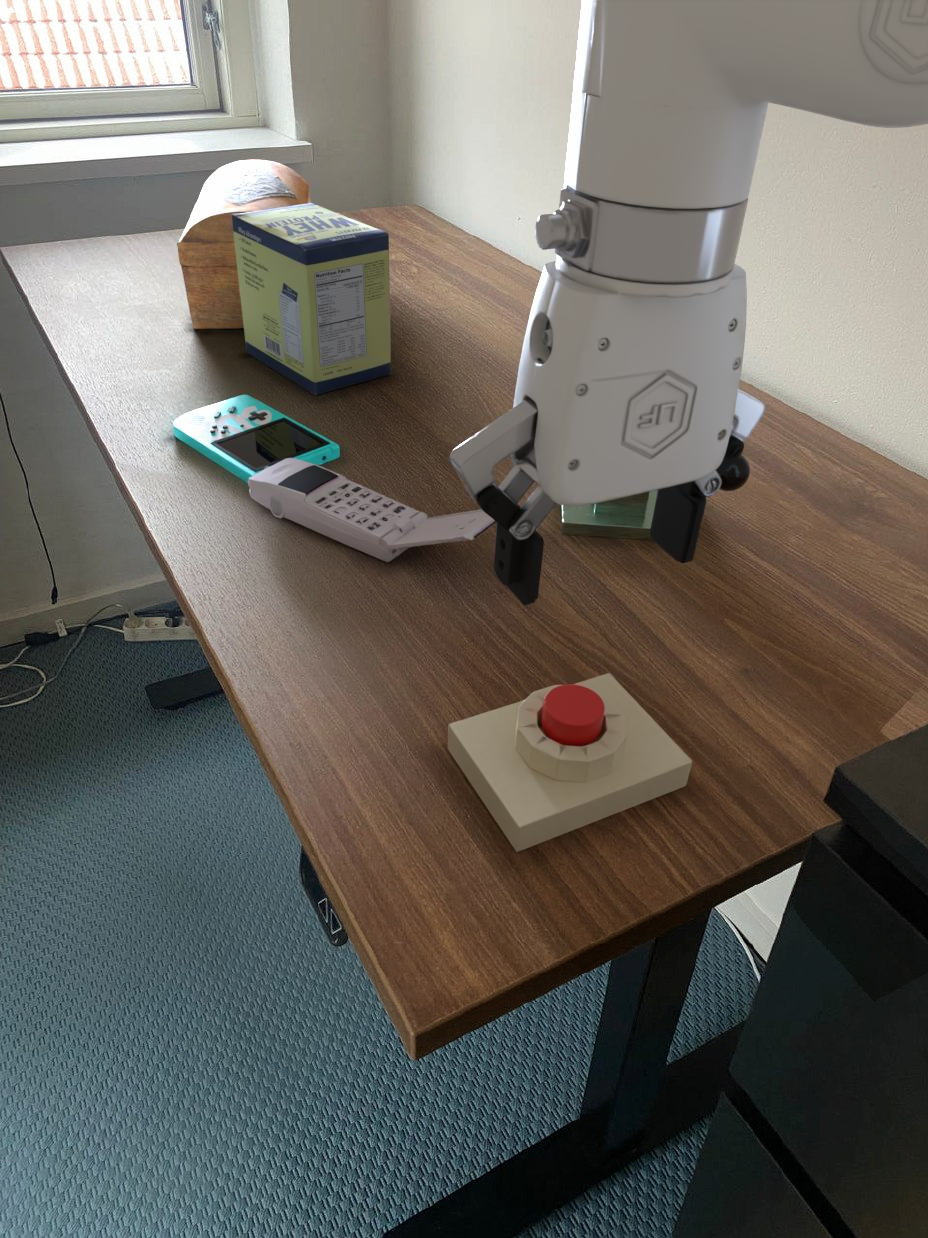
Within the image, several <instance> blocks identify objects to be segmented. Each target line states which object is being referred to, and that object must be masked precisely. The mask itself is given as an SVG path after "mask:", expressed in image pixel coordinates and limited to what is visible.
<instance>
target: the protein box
mask: <svg viewBox="0 0 928 1238" xmlns="http://www.w3.org/2000/svg"><path fill="white" fill-rule="evenodd" d="M231 216H232V223H233V233H234V242H235V252H236V261H237V270H238V279H239V288H240V297H241V306H242V316H243V325H244V328H243V331H244V333H243V334H244V341H245V351H246V353H247V354H248V355H250V356H251V357H253V358H255V359H256V360H258V361H259V362H261V363H263V364H264V365H266V366H267V367H269V368H270V369H272V370H274V371H275V372H277V373H278V374H279V375H282V376H284V377H285V378H286V379H288V380H289V381H291V382H293V383H294V384H295V385H298V386H299V387H301V388H302V389H304V390H306V391H307V392H309V393H310V394H312V395H314V396H317V395H321V394H325V393H329V392H332V391H336V390H339V389H342V388H346V387H350V386H353V385H357V384H360V383H364V382H368V381H371V380H375V379H378V378H382V377H385V376H389V375H392V355H391V351H392V350H391V345H392V343H391V290H390V289H391V287H390V283H391V281H390V237H389V235H390V234H389V232H386V231H384V230H382V229H379V228H376V227H374V226H371V225H369V224H366V223H364V222H361V221H358V220H356V219H354V218H353V219H352V218H350V217H347V216H345V215H343V214H340V213H338V212H334V211H332V210H330V209H328V208H325V207H323V206H320V205H318V204H315V203H313V202H311V203H308V204H301V205H294V206H288V207H281V208H274V209H267V210H260V211H254V212H246V213H239V214H232V215H231Z"/></svg>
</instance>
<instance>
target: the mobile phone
mask: <svg viewBox="0 0 928 1238" xmlns="http://www.w3.org/2000/svg"><path fill="white" fill-rule="evenodd" d="M247 486H248V488H249V489H248V493H249V497H250V498H251V499H253V500H254V501H255V502H256V503H258V504H260V505H261V506H263V507H265V508H266V509H268V510H270V512H271V514H272V516H274V517H275V518H277V519H283V518H285V519H287V520H289V521H292V522H294V523H296V524H298V525H300V526H303V527H305V528H307V529H309V530H312V531H314V532H316V533H318V534H320V535H323V536H325V537H327V538H329V539H332V540H334V541H335V542H339V543H341V544H343V545H345V546H348V547H350V548H353V549H355V550H357V551H359V552H361V553H364V554H367V555H369V556H371V557H373V558H376V559H378V560H381V561H383V562H385V563H390V562H391V561H392V560H394V559H395V558H397V557H398V556H400V555H401V554H402V553H404V552H405V551H406V550H408V549H410V548H412V547H413V548H414V547H420V546H428V545H438V544H446V543H447V544H448V543H455V542H456V543H457V542H466V541H473V540H475V539H476V538H477V537H479V536H480V535H481V534H483V533H484V532H485V531H487V530H489V528H491V527H493V525H495V524H497V522H496V521H495V520H494V519H492V518H491V517H490V516H489V515H487V514H486V513H485V512H484V511H483V510H482V509H481V508H480V509H474V510H469V511H462V512H455V513H450V514H443V515H438V516H437V515H436V516H430V517H428V515H427V513H425V512H424V511H419V510H417V509H415V508H412V507H411V506H408V505H406V504H404V503H402V502H399V501H397V500H395V499H393V498H390V497H388V496H386V495H383V494H381V493H379V492H377V491H375V490H372V489H370V488H368V487H366V486H364V485H362V484H359V483H356V482H354V481H352V480H350V479H347V478H346V477H345V475H342V474H340V473H337V472H336V471H333V470H331V469H328V468H325V467H324V466H321V465H315V464H312V463H309V462H306V461H302V460H299V459H295V458H287V459H284V460H282V461H280V462H278V463H276V464H274V465H272V466H271V467H269V466H266V467H264V469H263V471H261V472H259V473H257V474H255V475H253V476H251V477H250V478H249V481H248V483H247Z"/></svg>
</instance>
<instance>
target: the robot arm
mask: <svg viewBox="0 0 928 1238" xmlns="http://www.w3.org/2000/svg"><path fill="white" fill-rule="evenodd" d="M580 8H581V9H580V18H579V19H580V20H579V28H578V40H577V49H576V60H575V70H574V78H573V90H572V91H573V92H572V102H571V112H570V121H569V131H568V139H567V140H568V142H567V151H566V159H565V170H564V182H563V188H562V187H561V188H560V195H559V207H558V209H556V210H555V211H554V212H553V213H546V214H545V213H544V214H540V215H539V216H538V217H537V219H536V222H535V228H534V234H535V239H536V243H537V246H538V247H539V249H541V250H542V251H546V250H554V253H555V254H556V260H555V261H551V262H550V261H549V262H546V263H545V264H544V266H543V269H542V273H541V276H540V279H539V282H538V285H537V288H536V290H535V295H534V298H533V302H532V304H531V309H530V313H529V318H528V322H527V326H526V329H525V334H524V339H523V344H522V349H521V355H520V359H519V365H518V370H517V371H518V372H517V377H516V384H515V390H514V398H513V407H512V408H511V409H510V410H508V411H507V412H506V413H504V414H502V415H501V416H499V417H498V418H496V419H495V420H493V421H492V422H491V423H489V424H487V425H486V426H485V427H483V428H482V429H481V430H479V431H478V432H476V433H475V434H474V435H472V436H471V437H468V438H467V439H466V440H465V441H463V442H462V443H460V444H459V445H458V446H456V447H455V448H454V449H453V450H452V451H451V453H450V456H449V461H450V463H451V466H452V467H453V469H454V470H455V473H456V475H458V478H459V480H460V481H461V483H462V485H463V486H464V488H465V492H466V495H468V497H469V498H470V499H471V500H472V501H473V502H474V503H475V504H476V505H477V506H478V507H479V508H480V510H481V509H482V510H483V511H484V512H485V513H486V514H487V515H489V516H490V517H491V518H492V519H494V520H495V521H496V528H495V541H494V555H493V570H494V573H495V576H496V578H497V579H498V581H499V582H500V583H501V584H502V585H503V586H505V587H507V588H508V589H509V591H510V592H511V593H512V594H513V596H515V597H516V599H518V601H519V602H520V603H521V604H522V605H523V606H527V605H528V606H529V605H532V604H535V603H536V601H537V600H538V599H539V593H540V592H539V591H540V584H541V575H542V565H543V556H544V547H545V540H544V537H543V536H542V535H541V534H540V533H539V532H538V531H537V529H538V528H539V526H540V525H541V524H542V523H543V522H544V521H545V519H546V518H547V517H548V515H549V514H550V513H551V512H552V511H553V509H554V508H555V507H556V506H557V505H559V506H561V505H563V506H568V507H577V506H585V505H590V504H595V503H600V502H605V501H609V500H614V499H618V498H623V497H628V496H632V495H637V494H641V493H645V492H650V491H654V490H658V492H657V497H656V502H655V508H654V513H653V518H652V523H651V528H650V538H651V539H652V540H651V541H652V542H654V543H655V544H656V545H657V546H658V547H660V548H661V549H662V550H663V551H664V552H666V553H667V554H668V555H669V556H670V557H671V558H673V560H675V561H676V562H678V563H680V564H682V565H683V564H686V563H691V562H692V561H694V557H695V554H696V553H695V552H696V548H697V544H698V538H699V534H700V530H701V528H702V527H701V525H702V522H703V518H704V513H705V509H706V506H707V505H706V504H707V498H708V497H712V496H715V494H717V493H718V492H719V490H720V487H721V484H722V480H721V478H720V477H721V475H722V474H723V473H724V472H725V471H726V470H727V469H728V468H729V467H730V466H731V465H732V464H733V463H734V462H735V461H736V460H737V459H738V457H739V456H740V455H743V452H744V449H745V443H744V441H745V440H748V439H749V437H750V435H751V434H752V432H753V431H754V429H755V428H756V426H757V425H758V423H759V421H760V420H761V418H762V417H763V416H764V413H765V411H766V404H765V403H764V402H763V401H761V400H759V399H758V398H756V397H755V396H753V395H751V394H749V393H747V392H746V391H744V390H742V389H740V388H739V387H740V382H741V376H742V369H743V361H744V354H745V353H744V352H745V346H746V345H745V344H746V331H747V310H748V309H747V307H748V296H747V294H748V291H747V290H748V289H747V288H748V287H747V273H746V270H745V269H744V268H743V267H741V266H740V265H738V264H736V258H737V253H738V249H739V245H740V241H741V236H742V231H743V226H744V223H745V217H746V212H747V207H748V203H749V195H750V191H751V186H752V181H753V176H754V171H755V167H756V163H757V158H758V153H759V149H760V144H761V139H762V136H763V132H764V131H763V130H764V125H765V120H766V116H767V112H768V107H769V104H774V105H778V106H783V107H788V108H791V109H796V110H800V111H804V112H808V113H813V114H817V115H820V116H825V117H828V118H832V119H836V120H839V121H843V122H849V123H853V124H858V125H862V126H867V127H873V128H884V129H901V128H912V127H920V126H924V125H928V0H581V7H580ZM509 457H511V460H512V463H513V464H514V466H513V468H511V470H510V471H509V473H508V474H507V475H506V476H505V478H504V479H503V480H502V481H501V483H500V484H499V485H498V484H497V482H496V479H495V477H494V470H495V469H496V467H497V466H498V465H499V464H500V463H501V462H503V461H504V460H506V459H508V458H509ZM534 483H535V484H536V485H537V486H536V488H535V489H534V490H533V491H532V493H531V494H530V495H529V496H528V497H527V499H526V500H525V501H524V503H523V504H522V505H520V504H519V502H520V501H521V500H522V498H524V496H525V495H526V493H527V492H528V491H529V490H530V488H531V487H532V486H533V485H534Z"/></svg>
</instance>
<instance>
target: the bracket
mask: <svg viewBox="0 0 928 1238" xmlns="http://www.w3.org/2000/svg"><path fill="white" fill-rule="evenodd" d="M657 492H658V490H654V491H650V492H645V493H641V494H637V495H632V496H628V497H623V498H618V499H614V500H609V501H605V502H600V503H595V504H590V505H585V506H577V507H568V506H563V505H560V533H561V535H571V536H585V537H598V538H599V537H600V538H611V539H612V538H613V539H626V540H641V541H653V540H652V539H651V538H650V528H651V523H652V518H653V513H654V508H655V502H656V497H657Z"/></svg>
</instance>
